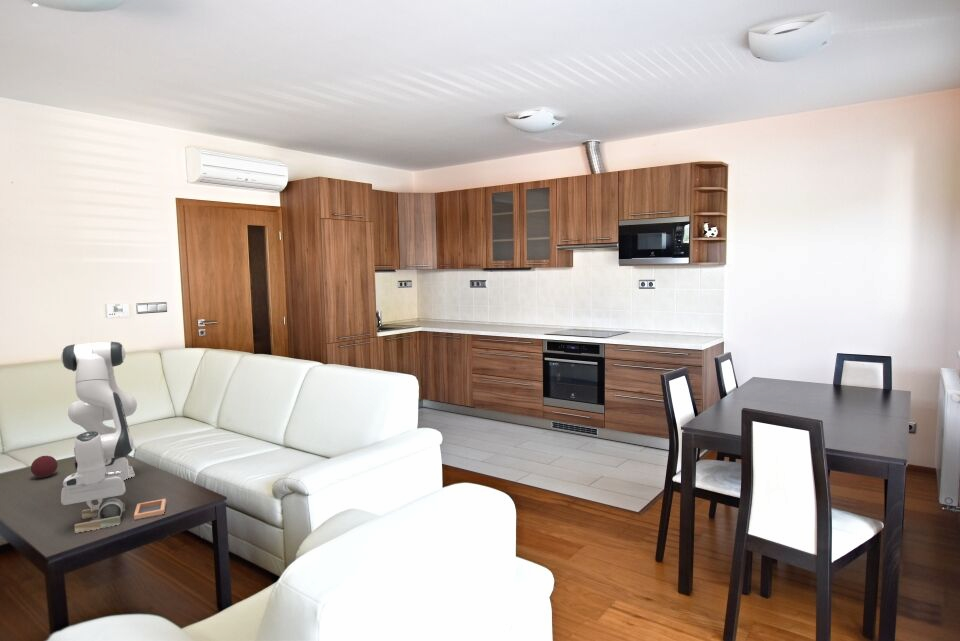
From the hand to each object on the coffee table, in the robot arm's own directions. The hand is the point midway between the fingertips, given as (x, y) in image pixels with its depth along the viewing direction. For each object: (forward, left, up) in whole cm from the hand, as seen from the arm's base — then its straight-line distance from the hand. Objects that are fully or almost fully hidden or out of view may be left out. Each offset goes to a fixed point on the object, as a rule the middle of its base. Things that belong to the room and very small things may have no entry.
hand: (95, 510), depth 216 cm
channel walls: (0, +1, -5) cm, 5 cm away
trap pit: (0, +18, -5) cm, 18 cm away
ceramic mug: (0, +4, -5) cm, 6 cm away
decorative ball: (-70, -31, -5) cm, 77 cm away
